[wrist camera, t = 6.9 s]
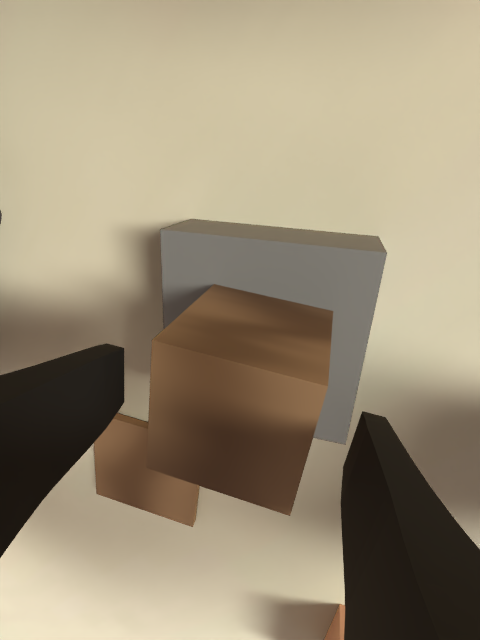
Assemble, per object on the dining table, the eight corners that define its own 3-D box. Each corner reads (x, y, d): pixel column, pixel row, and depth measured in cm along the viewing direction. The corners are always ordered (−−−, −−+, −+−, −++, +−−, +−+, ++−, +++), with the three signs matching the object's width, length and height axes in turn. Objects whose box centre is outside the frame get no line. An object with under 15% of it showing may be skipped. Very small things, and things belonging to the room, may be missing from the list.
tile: (205, 439, 21) (202, 445, 21) (195, 520, 24) (192, 527, 23) (97, 407, 22) (92, 412, 22) (100, 487, 25) (96, 493, 25)
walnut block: (333, 311, 13) (328, 386, 8) (306, 411, 15) (290, 516, 10) (214, 284, 14) (152, 339, 9) (202, 382, 16) (146, 468, 11)
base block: (377, 235, 15) (386, 252, 12) (344, 396, 18) (345, 444, 15) (194, 217, 17) (160, 229, 13) (194, 368, 20) (166, 406, 17)
